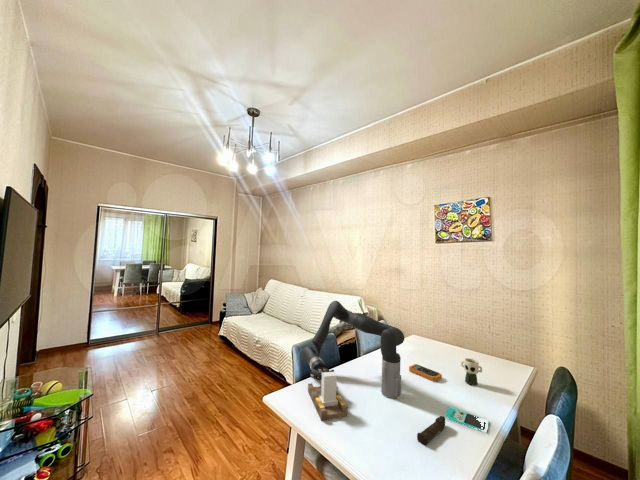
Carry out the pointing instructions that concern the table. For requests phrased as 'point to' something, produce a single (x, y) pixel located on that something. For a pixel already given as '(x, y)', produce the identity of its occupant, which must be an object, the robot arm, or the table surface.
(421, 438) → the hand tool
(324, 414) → the switch housing
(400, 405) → the table surface
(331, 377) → the switch tab
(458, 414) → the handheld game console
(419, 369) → the multimeter
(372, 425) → the table surface
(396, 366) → the robot arm
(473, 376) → the character mug
